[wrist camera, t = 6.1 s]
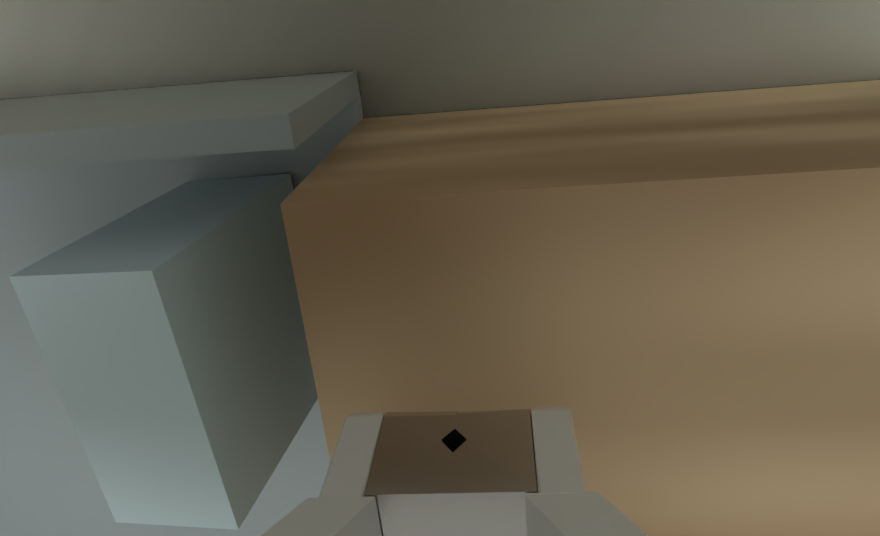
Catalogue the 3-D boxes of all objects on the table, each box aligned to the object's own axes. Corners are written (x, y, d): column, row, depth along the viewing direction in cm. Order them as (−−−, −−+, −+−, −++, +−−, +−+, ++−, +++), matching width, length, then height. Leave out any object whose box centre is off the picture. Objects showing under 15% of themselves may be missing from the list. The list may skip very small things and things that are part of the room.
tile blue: (290, 173, 14) (187, 181, 14) (151, 270, 9) (8, 276, 10) (334, 370, 16) (242, 370, 16) (238, 529, 11) (116, 522, 12)
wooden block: (363, 117, 14) (279, 204, 8) (901, 78, 13) (1214, 146, 7) (424, 579, 19) (398, 812, 14) (802, 578, 18) (935, 832, 13)
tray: (-251, 120, 15) (-579, 179, 10) (357, 70, 13) (288, 113, 9) (-3, 600, 21) (-136, 768, 17) (427, 602, 20) (408, 786, 15)
